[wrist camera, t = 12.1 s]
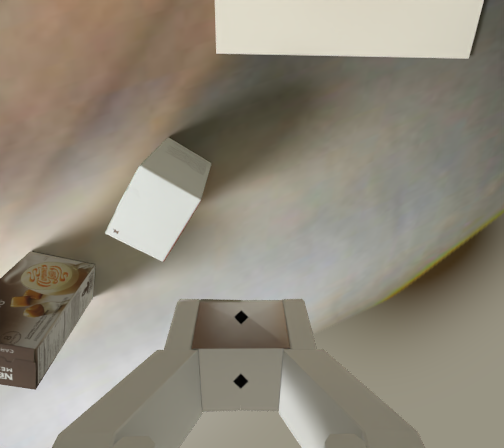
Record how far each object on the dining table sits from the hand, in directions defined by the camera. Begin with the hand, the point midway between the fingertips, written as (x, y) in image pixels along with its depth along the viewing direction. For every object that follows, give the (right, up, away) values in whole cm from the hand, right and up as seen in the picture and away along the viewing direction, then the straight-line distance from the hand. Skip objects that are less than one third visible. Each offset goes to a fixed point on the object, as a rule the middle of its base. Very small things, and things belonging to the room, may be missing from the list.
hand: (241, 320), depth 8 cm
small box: (-9, +9, +35) cm, 37 cm away
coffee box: (-27, -5, +41) cm, 49 cm away
